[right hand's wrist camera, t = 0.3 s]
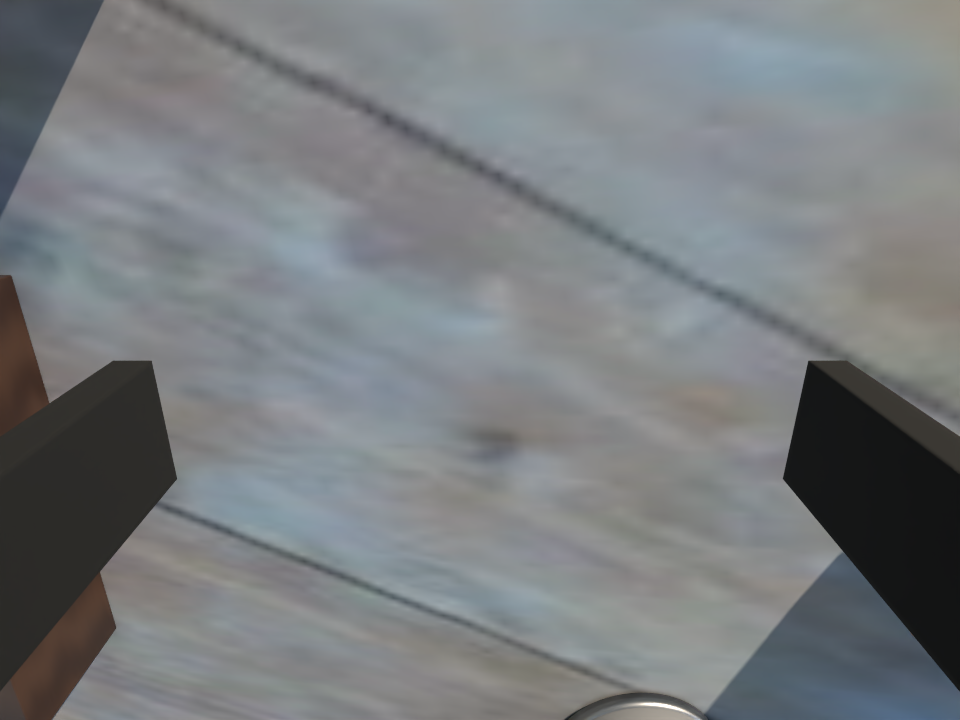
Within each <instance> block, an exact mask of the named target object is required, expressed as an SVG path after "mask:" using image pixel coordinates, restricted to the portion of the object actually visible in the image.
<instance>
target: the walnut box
mask: <svg viewBox="0 0 960 720" xmlns="http://www.w3.org/2000/svg"><path fill="white" fill-rule="evenodd" d="M48 404H49V401H48V397H47V394H46V391H45V387H44V384H43V380H42V377H41V374H40V370H39V367H38V364H37V360H36V357H35V354H34V350H33V347H32V344H31V340H30V337H29V333H28V330H27V327H26V323H25V320H24V317H23V313H22V310H21V307H20V303H19V300H18V297H17V293H16V290H15V286H14V283H13V280H12V276H10V275H0V436H2V435H3V434H5V433H6V432H8V431H9V430H11V429H12V428H14V427H15V426H17V425H18V424H20V423H21V422H23V421H24V420H26V419H27V418H29V417H30V416H32V415H33V414H35V413H36V412H38V411H39V410H41V409H42V408H44V407H45V406H47V405H48ZM115 629H116V625H115V622H114V619H113V615H112V612H111V609H110V605H109V602H108V599H107V595H106V592H105V589H104V585H103V582H102V578H101V575H100V572H99V573H98V574H97V576H96V577H95V578H94V579H93V580H92V582H91V583H90V584H89V585H88V586H87V588H86V589H85V590H84V591H83V593H82V594H81V595H80V596H79V597H78V599H77V600H76V601H75V602H74V603H73V605H72V606H71V607H70V608H69V609H68V611H67V612H66V613H65V614H64V615H63V617H62V618H61V619H60V620H59V621H58V623H57V624H56V625H55V626H54V627H53V629H52V630H51V631H50V632H49V633H48V635H47V636H46V637H45V638H44V639H43V641H42V642H41V643H40V644H39V645H38V647H37V648H36V649H35V650H34V651H33V653H32V654H31V655H30V656H29V657H28V659H27V660H26V661H25V662H24V663H23V665H22V666H21V667H20V668H19V669H18V671H17V672H16V673H15V674H14V675H13V677H12V678H11V679H10V680H9V681H8V683H7V684H6V685H5V686H4V687H3V689H2V690H1V691H0V720H52V718H53V717H54V715H55V714H56V713H57V711H58V710H59V708H60V707H61V706H62V704H63V703H64V701H65V700H66V698H67V697H68V696H69V694H70V693H71V691H72V690H73V689H74V687H75V686H76V684H77V683H78V681H79V680H80V679H81V677H82V676H83V674H84V673H85V672H86V670H87V669H88V667H89V666H90V665H91V663H92V662H93V660H94V659H95V657H96V656H97V655H98V653H99V652H100V650H101V649H102V648H103V646H104V645H105V643H106V642H107V641H108V639H109V638H110V636H111V635H112V633H113V632H114V631H115Z"/></svg>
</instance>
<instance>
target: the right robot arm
mask: <svg viewBox="0 0 960 720" xmlns="http://www.w3.org/2000/svg"><path fill="white" fill-rule="evenodd" d="M176 479H177V476H176V472H175V467H174V463H173V458H172V453H171V449H170V444H169V439H168V435H167V430H166V426H165V421H164V416H163V412H162V407H161V402H160V398H159V393H158V388H157V384H156V379H155V375H154V370H153V365H152V361H112V362H111V363H109V364H108V365H106V366H105V367H103V368H102V369H100V370H99V371H97V372H96V373H94V374H93V375H91V376H90V377H88V378H87V379H85V380H84V381H82V382H81V383H79V384H78V385H76V386H75V387H73V388H72V389H70V390H69V391H67V392H66V393H64V394H63V395H62V396H60V397H59V398H57V399H56V400H54V401H53V402H51V403H50V404H48V405H47V406H45V407H44V408H42V409H41V410H39V411H38V412H36V413H35V414H33V415H32V416H30V417H29V418H27V419H26V420H24V421H23V422H21V423H20V424H18V425H17V426H15V427H14V428H12V429H11V430H9V431H8V432H6V433H5V434H3V435H2V436H0V691H1V690H2V689H3V687H4V686H5V685H6V684H7V683H8V681H9V680H10V679H11V678H12V677H13V675H14V674H15V673H16V672H17V671H18V669H19V668H20V667H21V666H22V665H23V663H24V662H25V661H26V660H27V659H28V657H29V656H30V655H31V654H32V653H33V651H34V650H35V649H36V648H37V647H38V645H39V644H40V643H41V642H42V641H43V639H44V638H45V637H46V636H47V635H48V633H49V632H50V631H51V630H52V629H53V627H54V626H55V625H56V624H57V623H58V621H59V620H60V619H61V618H62V617H63V615H64V614H65V613H66V612H67V611H68V609H69V608H70V607H71V606H72V605H73V603H74V602H75V601H76V600H77V599H78V597H79V596H80V595H81V594H82V593H83V591H84V590H85V589H86V588H87V586H88V585H89V584H90V583H91V582H92V580H93V579H94V578H95V577H96V576H97V574H98V573H99V572H100V571H101V570H102V568H103V567H104V566H105V565H106V564H107V562H108V561H109V560H110V559H111V558H112V556H113V555H114V554H115V553H116V552H117V550H118V549H119V548H120V547H121V546H122V544H123V543H124V542H125V541H126V540H127V538H128V537H129V536H130V535H131V534H132V532H133V531H134V530H135V529H136V528H137V526H138V525H139V524H140V523H141V522H142V520H143V519H144V518H145V517H146V516H147V514H148V513H149V512H150V511H151V510H152V508H153V507H154V506H155V505H156V504H157V502H158V501H159V500H160V499H161V498H162V496H163V495H164V494H165V493H166V492H167V490H168V489H169V488H170V487H171V486H172V484H173V483H174V482H175V481H176ZM783 479H784V481H785V482H786V483H787V484H788V486H789V487H790V488H791V489H792V490H793V492H794V493H795V494H796V495H797V496H798V498H799V499H800V500H801V501H802V502H803V504H804V505H805V506H806V507H807V508H808V510H809V511H810V512H811V513H812V514H813V516H814V517H815V518H816V519H817V520H818V522H819V523H820V524H821V525H822V526H823V528H824V529H825V530H826V531H827V532H828V534H829V535H830V536H831V537H832V538H833V540H834V541H835V542H836V543H837V544H838V546H839V547H840V548H841V549H842V550H843V552H844V553H845V554H846V555H847V556H848V558H849V559H850V560H851V561H852V562H853V564H854V565H855V566H856V567H857V568H858V570H859V571H860V572H861V573H862V574H863V576H864V577H865V578H866V579H867V580H868V582H869V583H870V584H871V585H872V587H873V588H874V589H875V590H876V591H877V593H878V594H879V595H880V596H881V597H882V599H883V600H884V601H885V602H886V603H887V605H888V606H889V607H890V608H891V609H892V611H893V612H894V613H895V614H896V615H897V617H898V618H899V619H900V620H901V621H902V623H903V624H904V625H905V626H906V627H907V629H908V630H909V631H910V632H911V633H912V635H913V636H914V637H915V638H916V639H917V641H918V642H919V643H920V644H921V645H922V647H923V648H924V649H925V650H926V651H927V653H928V654H929V655H930V656H931V657H932V659H933V660H934V661H935V662H936V663H937V665H938V666H939V667H940V668H941V669H942V671H943V672H944V673H945V674H946V675H947V677H948V678H949V679H950V680H951V681H952V683H953V684H954V685H955V686H956V687H957V689H958V690H959V691H960V436H958V435H957V434H955V433H954V432H952V431H951V430H949V429H948V428H946V427H945V426H943V425H942V424H940V423H939V422H937V421H936V420H934V419H933V418H931V417H930V416H928V415H927V414H925V413H924V412H922V411H921V410H919V409H918V408H916V407H915V406H913V405H912V404H910V403H909V402H907V401H906V400H904V399H903V398H901V397H900V396H898V395H897V394H896V393H894V392H893V391H891V390H890V389H888V388H887V387H885V386H884V385H882V384H881V383H879V382H878V381H876V380H875V379H873V378H872V377H870V376H869V375H867V374H866V373H864V372H863V371H861V370H860V369H858V368H857V367H855V366H854V365H852V364H851V363H849V362H848V361H808V365H807V370H806V375H805V379H804V384H803V388H802V393H801V398H800V402H799V407H798V412H797V416H796V421H795V426H794V430H793V435H792V439H791V444H790V449H789V453H788V458H787V463H786V467H785V472H784V476H783ZM568 720H708V719H707V717H706V716H705V715H704V714H703V713H702V712H701V711H699V710H698V709H697V708H695V707H694V706H692V705H690V704H689V703H686V702H684V701H682V700H680V699H677V698H674V697H670V696H666V695H661V694H653V693H630V694H622V695H617V696H613V697H609V698H605V699H602V700H599V701H597V702H595V703H592V704H590V705H588V706H586V707H584V708H583V709H581V710H580V711H578V712H577V713H575V714H574V715H573V716H571V717H570V718H569V719H568Z"/></svg>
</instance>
